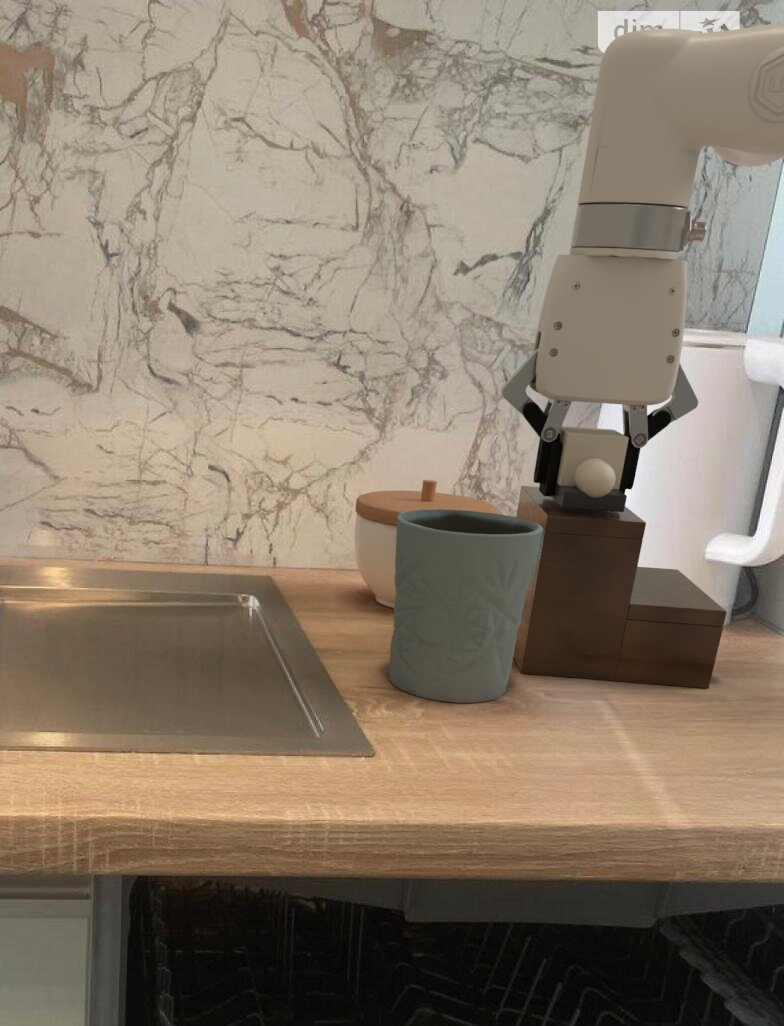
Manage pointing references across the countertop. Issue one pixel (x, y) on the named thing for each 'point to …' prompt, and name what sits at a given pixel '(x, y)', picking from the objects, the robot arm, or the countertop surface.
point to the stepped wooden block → (610, 604)
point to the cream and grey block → (591, 469)
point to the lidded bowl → (381, 526)
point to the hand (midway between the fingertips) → (580, 493)
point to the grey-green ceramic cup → (459, 601)
